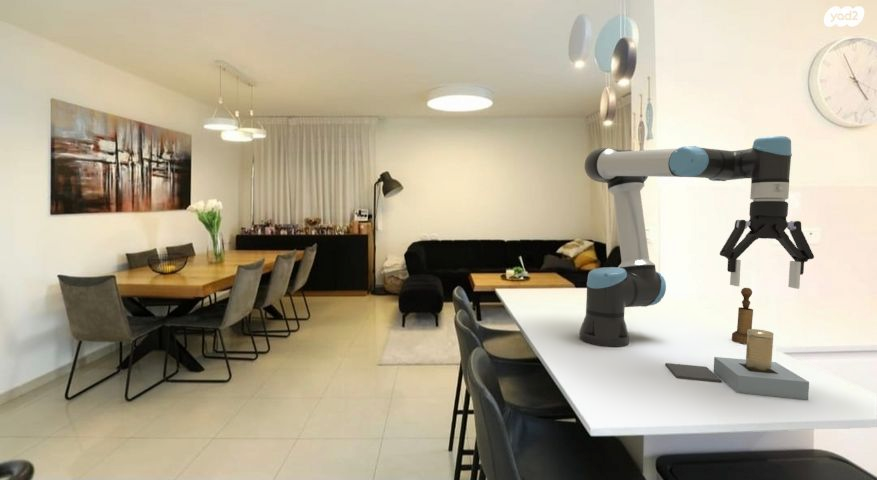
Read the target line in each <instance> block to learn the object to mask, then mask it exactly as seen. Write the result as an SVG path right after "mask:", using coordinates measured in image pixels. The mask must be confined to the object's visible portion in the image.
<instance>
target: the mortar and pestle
mask: <svg viewBox="0 0 877 480" xmlns="http://www.w3.org/2000/svg"><path fill="white" fill-rule="evenodd" d="M740 293H741V295H742V298H743V299H742V301H741V304H742V306H741V307H738V312H737V314H738V315H737V326H736V331H734V332H732V333H731V340H732V341H733V342H735V343H738V342H739V344H742V343H745V344H744V345H747V333H748V329H753V328H752V327H753V316H754V309H753V308H750V305H751V301H750V297H752V294H753V291H752V289H751V288H750V287H743V288H742V289H741V291H740Z"/></svg>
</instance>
